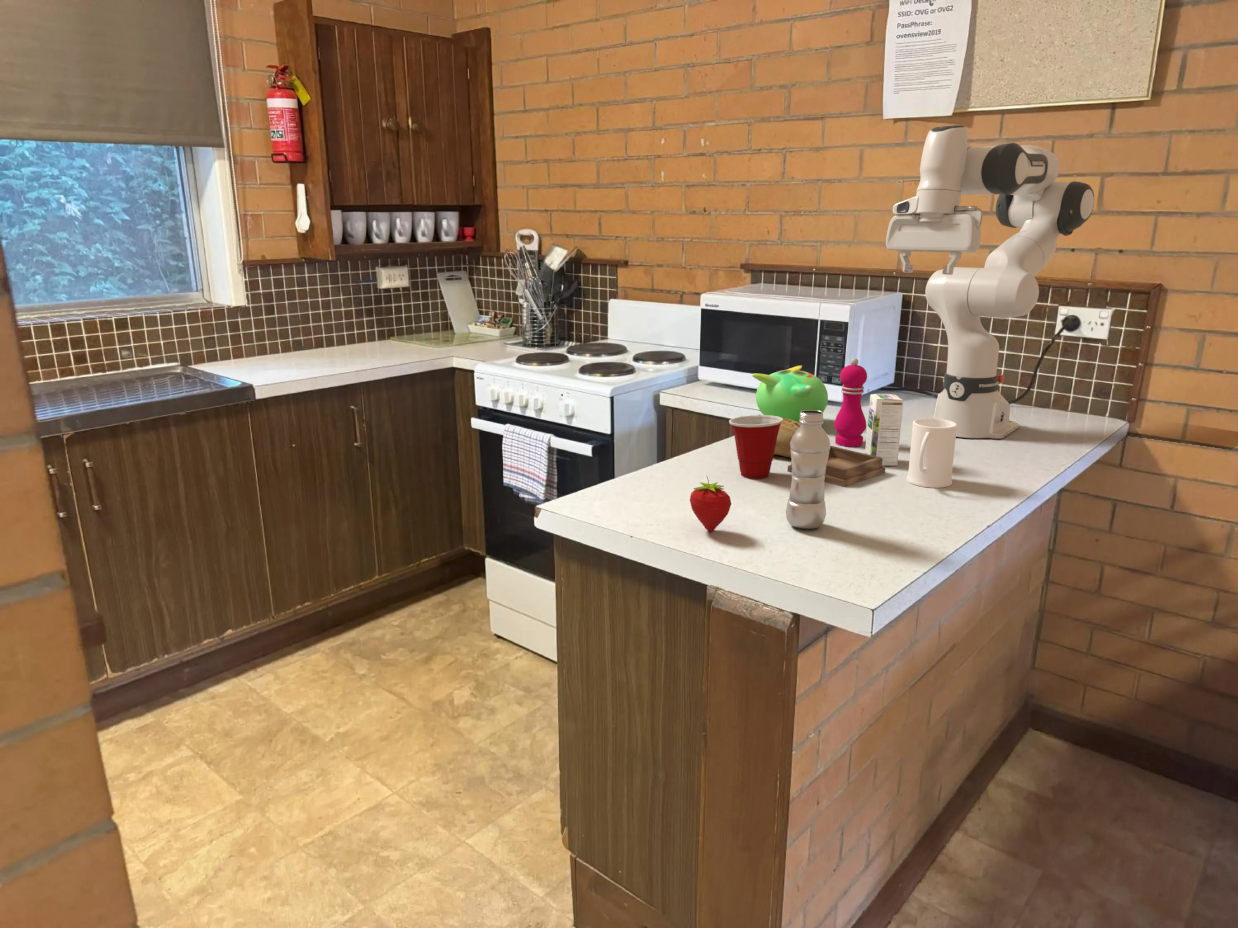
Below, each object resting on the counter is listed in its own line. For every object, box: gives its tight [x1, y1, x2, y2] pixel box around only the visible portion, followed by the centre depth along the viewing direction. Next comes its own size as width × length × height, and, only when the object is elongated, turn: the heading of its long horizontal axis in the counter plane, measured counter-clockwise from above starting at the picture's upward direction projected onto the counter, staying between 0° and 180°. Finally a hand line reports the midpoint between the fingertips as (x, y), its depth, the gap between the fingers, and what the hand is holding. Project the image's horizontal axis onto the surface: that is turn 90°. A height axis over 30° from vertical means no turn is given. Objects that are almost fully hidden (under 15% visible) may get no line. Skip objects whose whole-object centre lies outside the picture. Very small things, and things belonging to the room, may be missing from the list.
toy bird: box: [751, 365, 829, 423], centre depth 210 cm, size 18×17×15 cm
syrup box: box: [864, 393, 904, 467], centre depth 177 cm, size 6×6×14 cm
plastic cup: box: [728, 414, 783, 480], centre depth 169 cm, size 11×11×12 cm
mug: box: [906, 417, 957, 489], centre depth 163 cm, size 12×8×12 cm
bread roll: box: [774, 419, 801, 459], centre depth 185 cm, size 10×15×8 cm, turn 56°
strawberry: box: [689, 476, 732, 532], centre depth 139 cm, size 6×8×10 cm
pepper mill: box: [833, 357, 868, 448], centre depth 191 cm, size 7×7×20 cm
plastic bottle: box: [785, 410, 832, 530], centre depth 139 cm, size 6×7×20 cm
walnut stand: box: [787, 445, 886, 488], centre depth 172 cm, size 14×14×3 cm
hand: (926, 273), depth 178 cm, fingers open, 8 cm apart
